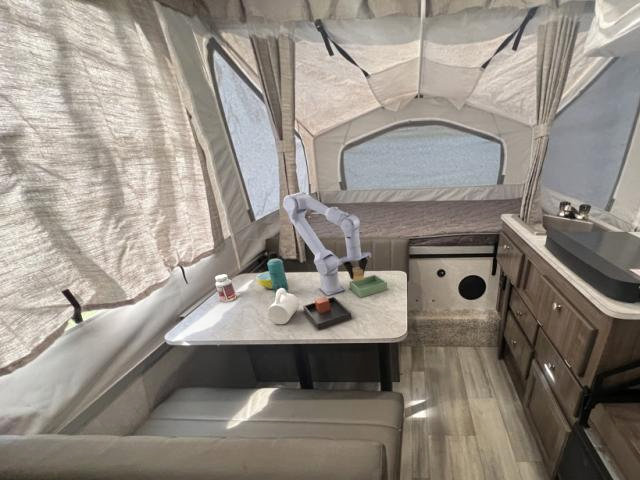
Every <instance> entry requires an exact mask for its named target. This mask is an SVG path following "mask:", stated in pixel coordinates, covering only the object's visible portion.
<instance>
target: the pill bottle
mask: <svg viewBox="0 0 640 480" xmlns="http://www.w3.org/2000/svg"><path fill="white" fill-rule="evenodd" d="M214 279H215V281H216V282H215V287H216V290H217V293H218V295H219V298H220V300H221V302H222V303H223V302H224V303H226V302H227V303H228V302H232V301H234V300H235V299H237V294H236V291H235V289H234V286H233V282H232V280H231V279H230V278H229V277H228V275H227V274H225V273H223V274H218V275H216V276H215V277H214Z"/></svg>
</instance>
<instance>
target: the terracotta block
mask: <svg viewBox="0 0 640 480" xmlns="http://www.w3.org/2000/svg"><path fill="white" fill-rule="evenodd" d="M314 303H315V304H316V309H317V310H318V312H319V313H324V312H327V311H330V310H331V309H330V303H329V300H328V298H327V297H326V296H322V297H319V298H315V299H314Z"/></svg>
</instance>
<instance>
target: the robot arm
mask: <svg viewBox="0 0 640 480" xmlns="http://www.w3.org/2000/svg"><path fill="white" fill-rule="evenodd" d="M282 207H283V209H284V210H285V211H286V213H287V215H288V217H289V220H290V222H291V224H292V225H293V226H294V228H295V229H296V231H297V232H298V233H299V235H300V237H301V238H302V240H303V241H304V243H305V244H306V245H307V247H308V248H309V250H310V251H311V253H312V254H313V255H314V258H313V264H314V265H315V267H316V270H317V272H318V273H319V277H320V278H319V279H320V283H321V287H319V289H320V290H321V291H322V292H323V293H324V294H325V295H326V296H330V295H334V294H337V293H341V292H344V291H345V289H344V288H342V287H341V285H340V278H339V271H338V270H339V267H340V266H342V265H343V266H344V267H345V270H346V271H347V273H348V275H349V278H350V279H351V280H352V279H353V268H354V265H353V264H352V262H357V261H358V267H360V268H361V269H363V274H364V275H365V271H366V268H367V264H368V262H369V261H368V259H371V258H372V252H370V251H367V252H362V250H361V241H360V232H359V231H360V230H359V228H360V226H361V219H360V218H359V217H358V216H357V215H356V214H349V213H348V212H344V211H342V210H341V209H339V207H337V206H331V207H329V206H327V205H325V204H324V203H322V202H320V201H319V200H317V199H315V198H313V197H312V196H311V194H310V193H309V194H308V193H306V192H304V191H300V192H297V193H292V194H288V195H286V196H284V198H283V202H282ZM308 209H309V210H312V211H314V212H316V213H318V214H321V215H323V216H325V218H326V220H327V221H328V222H331V223H333V224H334V225H336V226H338V227H339V228H340V229H341V231H342V232H343V235H344V240H345V247H346V256H343V257H340V258H339V257H338V256H337V255H335V254H334V253H333V251H331V250H329V249H327V248H326V247H325V246H324V244H323V243H322V241H321V240H320V238H319V237H318V236H317V233H316V232H315V231H314V230H313V228H312V227H311V225H310V224H309V221H307V219H306V213H307V211H308Z"/></svg>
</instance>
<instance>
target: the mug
mask: <svg viewBox="0 0 640 480" xmlns="http://www.w3.org/2000/svg"><path fill="white" fill-rule="evenodd" d="M281 294H282V295H281ZM274 300H275V301H274V302H273V303H272V304H271V305H270V306H269V307H268V309H267V310H266V311H267V313H266V314H267V317H268V318H269V320H270V321H271V322H272V323H274V324H277V325H285V324H286V323H288V322H289V321H290V319H291V318H292V317H293V315H294V314H295V313H296V311H297V310H298V309H299V307H300V302H299V299H298V297H297V296H296V295H294V294H292V293H289V292H286V290H285V289H284V288H280V289H278V290H277V292H276V294H275V298H274Z"/></svg>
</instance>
